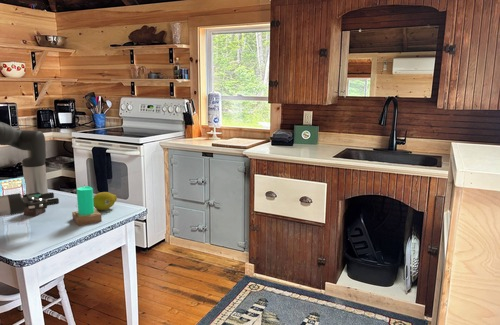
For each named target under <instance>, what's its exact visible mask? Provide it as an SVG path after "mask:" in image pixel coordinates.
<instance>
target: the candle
mask: <svg viewBox="0 0 500 325" xmlns="http://www.w3.org/2000/svg"><path fill="white" fill-rule="evenodd" d="M93 198H94V188H93V187H91V186H85V184H84V186H80V187H78V188H76V200H77V211H78V214H79V215H90V214H93V213H94V208H95V207H94V202H93Z"/></svg>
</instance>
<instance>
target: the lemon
mask: <svg viewBox="0 0 500 325" xmlns="http://www.w3.org/2000/svg"><path fill="white" fill-rule="evenodd" d="M117 199H118V197H117V195H116V194H113V193H111V192H108V191H102V192H98V193H96V194H95V195H93V202H94V208H95V209H96V210H97V211H106V210H108V209H110V208H112V207H113V206H114V205H115V203H116V202H117Z"/></svg>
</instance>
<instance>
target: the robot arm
mask: <svg viewBox="0 0 500 325" xmlns="http://www.w3.org/2000/svg"><path fill="white" fill-rule="evenodd" d="M0 146H8V147H9V146H10V147H13V148H16V149H18V150H21V151H26V152H27V151H31V155H30V156H28V157H26V158H23V159H22V160H21V163H22V164H21V165H22V173H23V180H24V179H25V183H26V194H25V193H24V194H22V193H12V194H4V195H0V218H2V217H8V216H9V217H10V216H13V215H19V214H20V215H21V214H24V208H29V211H31V210H37V209H44V208H45V209H48V207H49V206H54V205H58V204H60V200H59V198H58V197H56V198H55V193H54V191H53V192H49V190H48V180H47V179H48V178H47V168H46V167H47V166H46V159H47V158H46V157H47V152H46V137H45V135H44V133H43V132H42V131H41V130H28V129H25V130H24V129H23V130H21V129H14V128H12V126H10V124H7V123H5V122H2V121H0Z"/></svg>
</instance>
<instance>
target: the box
mask: <svg viewBox="0 0 500 325" xmlns="http://www.w3.org/2000/svg"><path fill="white" fill-rule="evenodd" d="M44 213H46V208H44V209H37V210H31V211H29V208H24V212H23V215H24V216H33V217H37V216H40V215H42V214H44Z"/></svg>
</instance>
